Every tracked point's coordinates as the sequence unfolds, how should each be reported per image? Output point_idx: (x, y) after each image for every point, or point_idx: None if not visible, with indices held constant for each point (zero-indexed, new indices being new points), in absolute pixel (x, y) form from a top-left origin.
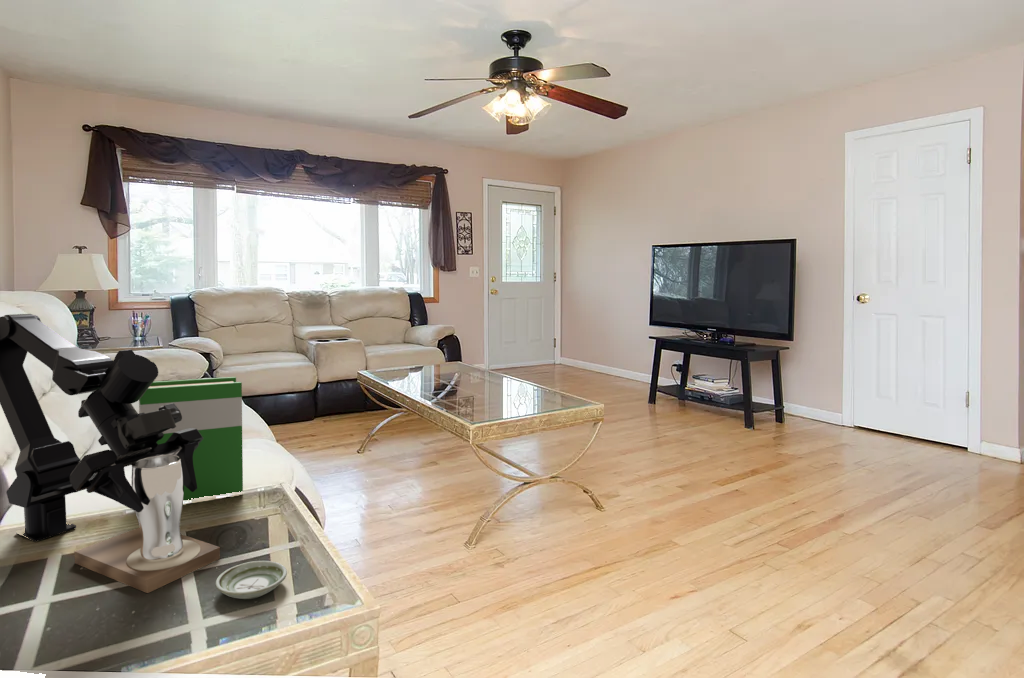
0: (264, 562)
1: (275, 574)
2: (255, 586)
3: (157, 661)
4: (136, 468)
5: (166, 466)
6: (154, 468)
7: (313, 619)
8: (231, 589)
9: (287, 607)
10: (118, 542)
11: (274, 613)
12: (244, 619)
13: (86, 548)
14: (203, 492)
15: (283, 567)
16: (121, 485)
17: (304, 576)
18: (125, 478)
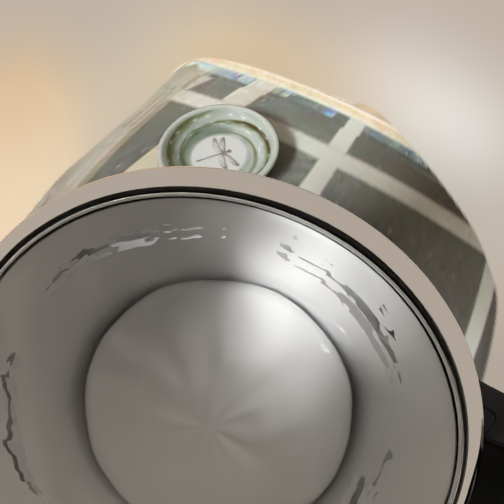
0: (163, 163)
1: (178, 143)
2: (219, 148)
3: (398, 144)
4: (476, 446)
5: (240, 179)
6: (380, 241)
7: (242, 72)
8: (246, 168)
9: (235, 100)
10: None
11: (255, 102)
12: (286, 119)
13: None
14: None
15: (172, 125)
16: (500, 392)
17: (154, 131)
18: (490, 433)
